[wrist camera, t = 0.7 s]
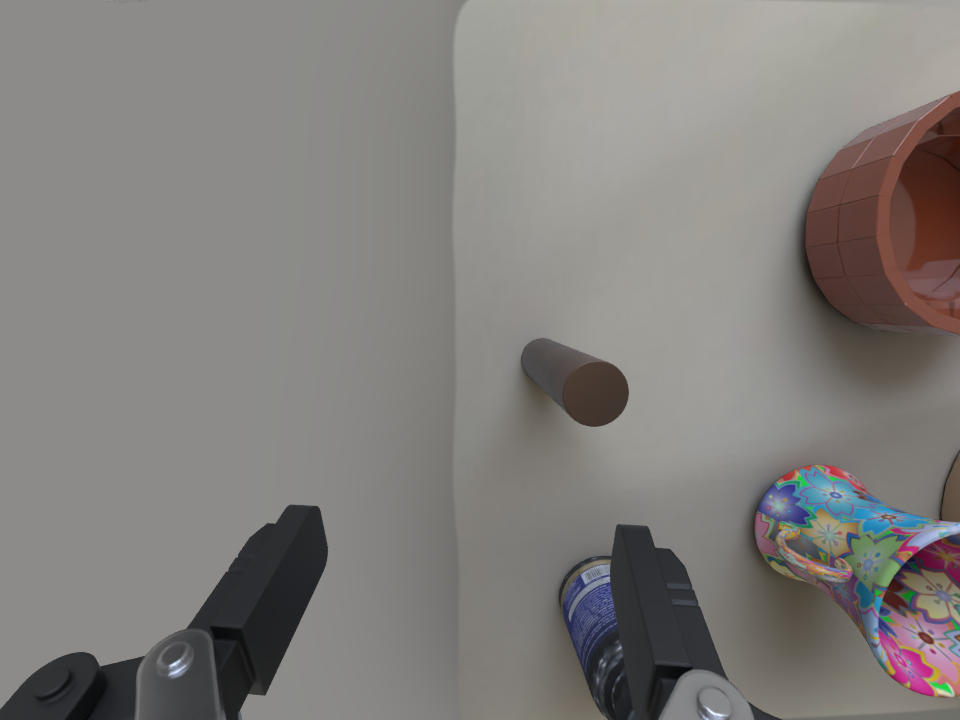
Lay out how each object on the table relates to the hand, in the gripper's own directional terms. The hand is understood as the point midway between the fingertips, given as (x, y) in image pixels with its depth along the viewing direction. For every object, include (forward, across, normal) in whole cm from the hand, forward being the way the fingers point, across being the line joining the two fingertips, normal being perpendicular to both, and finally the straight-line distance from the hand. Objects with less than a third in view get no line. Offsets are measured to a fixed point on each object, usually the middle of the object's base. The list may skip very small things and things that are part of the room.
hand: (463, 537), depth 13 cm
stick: (+19, -3, +4) cm, 20 cm away
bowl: (+25, -26, -4) cm, 37 cm away
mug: (+18, -21, +15) cm, 32 cm away
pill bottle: (+15, -8, +20) cm, 26 cm away
